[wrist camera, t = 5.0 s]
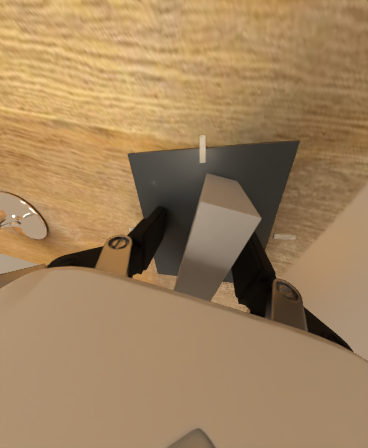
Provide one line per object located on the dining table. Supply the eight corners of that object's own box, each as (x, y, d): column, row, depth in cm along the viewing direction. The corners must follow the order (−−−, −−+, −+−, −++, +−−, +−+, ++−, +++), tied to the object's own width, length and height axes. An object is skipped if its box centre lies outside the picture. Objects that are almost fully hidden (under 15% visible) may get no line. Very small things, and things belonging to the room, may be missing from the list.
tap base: (306, 128, 9) (348, 121, 6) (261, 267, 15) (271, 293, 13) (127, 145, 11) (101, 145, 9) (155, 257, 18) (145, 276, 15)
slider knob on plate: (206, 173, 8) (199, 204, 4) (237, 180, 8) (265, 222, 4) (180, 264, 13) (163, 324, 9) (199, 270, 13) (192, 333, 9)
